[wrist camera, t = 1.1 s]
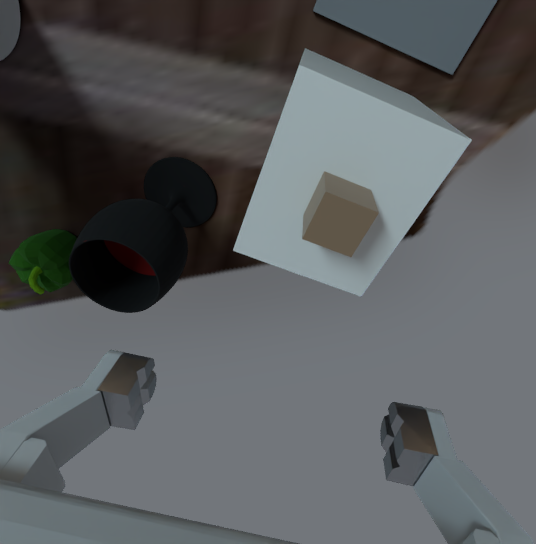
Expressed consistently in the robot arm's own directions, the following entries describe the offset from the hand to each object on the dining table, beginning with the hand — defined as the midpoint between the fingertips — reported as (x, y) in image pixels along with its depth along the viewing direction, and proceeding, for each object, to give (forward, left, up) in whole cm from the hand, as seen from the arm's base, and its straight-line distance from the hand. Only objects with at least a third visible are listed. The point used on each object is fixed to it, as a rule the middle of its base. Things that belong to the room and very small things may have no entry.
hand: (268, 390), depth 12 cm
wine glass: (-12, -14, -37) cm, 42 cm away
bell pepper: (-28, -30, -37) cm, 56 cm away
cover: (+4, 0, -37) cm, 37 cm away
